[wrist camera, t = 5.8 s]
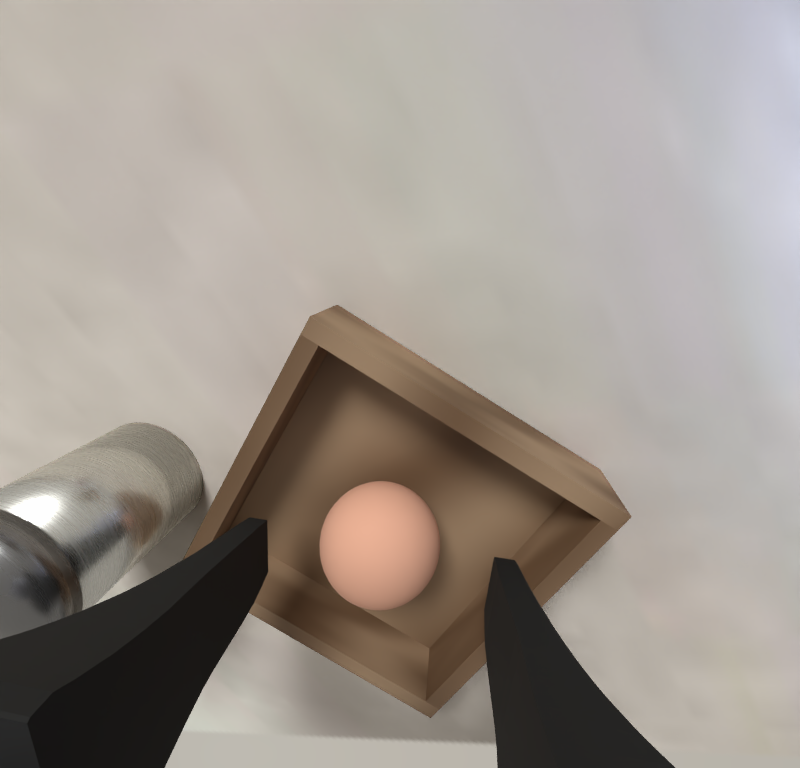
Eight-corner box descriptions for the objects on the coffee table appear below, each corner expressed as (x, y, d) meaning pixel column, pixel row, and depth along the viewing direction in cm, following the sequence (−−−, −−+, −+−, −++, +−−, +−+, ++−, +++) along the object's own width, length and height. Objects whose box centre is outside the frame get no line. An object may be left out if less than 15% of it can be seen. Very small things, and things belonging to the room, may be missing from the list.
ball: (447, 468, 15) (447, 542, 11) (434, 558, 16) (430, 651, 12) (339, 453, 15) (304, 519, 12) (334, 542, 17) (300, 628, 13)
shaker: (222, 460, 17) (70, 594, 10) (181, 540, 18) (27, 700, 12) (118, 398, 17) (-105, 494, 10) (86, 484, 18) (-126, 616, 12)
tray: (600, 469, 15) (631, 517, 12) (434, 650, 18) (430, 717, 16) (337, 304, 14) (310, 316, 12) (218, 523, 18) (177, 571, 15)
